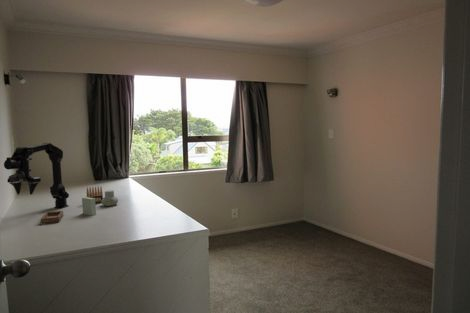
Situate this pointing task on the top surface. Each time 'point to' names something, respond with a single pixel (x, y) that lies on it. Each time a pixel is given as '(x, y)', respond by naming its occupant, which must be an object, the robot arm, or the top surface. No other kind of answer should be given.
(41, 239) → the top surface
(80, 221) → the top surface
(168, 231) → the top surface
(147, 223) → the top surface
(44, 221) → the brown wooden tray
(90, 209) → the pale green rectangular block
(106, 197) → the air freshener
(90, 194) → the ammunition clip
